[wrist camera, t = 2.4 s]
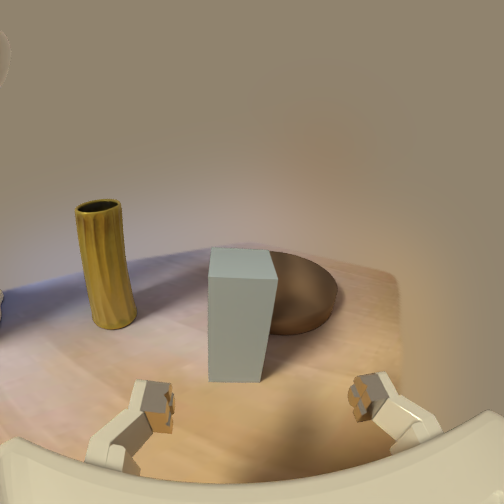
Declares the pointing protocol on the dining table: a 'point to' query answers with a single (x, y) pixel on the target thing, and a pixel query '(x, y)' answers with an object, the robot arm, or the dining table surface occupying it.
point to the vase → (105, 263)
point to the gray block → (239, 312)
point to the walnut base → (300, 295)
